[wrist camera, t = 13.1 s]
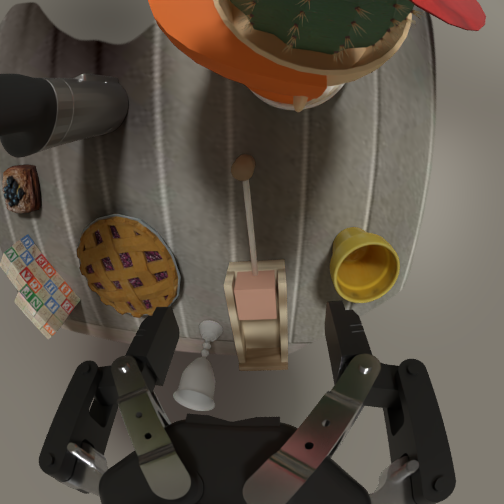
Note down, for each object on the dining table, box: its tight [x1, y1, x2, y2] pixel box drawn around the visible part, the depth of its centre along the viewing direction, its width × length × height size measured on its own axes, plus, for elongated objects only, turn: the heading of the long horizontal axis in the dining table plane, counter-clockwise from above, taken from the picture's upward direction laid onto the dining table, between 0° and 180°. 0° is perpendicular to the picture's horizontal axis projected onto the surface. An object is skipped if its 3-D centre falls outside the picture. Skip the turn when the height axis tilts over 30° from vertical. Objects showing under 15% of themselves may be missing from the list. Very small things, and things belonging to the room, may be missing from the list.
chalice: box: [173, 320, 223, 411], centre depth 47 cm, size 7×7×18 cm
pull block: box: [231, 154, 277, 320], centre depth 39 cm, size 24×6×6 cm, turn 5°
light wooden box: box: [224, 259, 288, 371], centre depth 48 cm, size 20×9×8 cm, turn 5°
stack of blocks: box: [0, 235, 80, 339], centre depth 47 cm, size 21×6×12 cm, turn 34°
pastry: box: [3, 165, 41, 213], centre depth 39 cm, size 11×12×6 cm
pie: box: [77, 214, 181, 318], centre depth 46 cm, size 22×22×5 cm
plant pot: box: [330, 227, 400, 303], centre depth 40 cm, size 10×10×10 cm
